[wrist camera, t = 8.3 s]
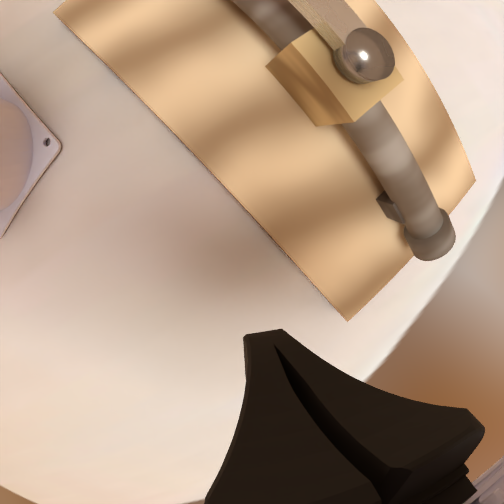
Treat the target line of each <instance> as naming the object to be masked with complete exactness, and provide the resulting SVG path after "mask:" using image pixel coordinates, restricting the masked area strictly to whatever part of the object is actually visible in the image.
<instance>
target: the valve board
mask: <svg viewBox="0 0 504 504" xmlns="http://www.w3.org/2000/svg"><path fill="white" fill-rule="evenodd" d="M344 1H345V2H346V3H347V4H348V5H349V6H350V7H351V9H352V10H353V11H354V12H355V13H356V14H357V15H358V17H359V18H360V19H361V20H362V21H363V23H364V24H365V25H366V26H367V28H370V29H373V30H375V31H377V32H378V33H380V34H381V35H382V36H383V37H384V38H385V39H386V40H387V41H388V43H389V44H390V46H391V48H392V50H393V53H394V57H395V66H394V70H393V72H392V73H391V75H390V76H389V77H387V78H385V79H382V80H378V81H374V82H370V83H367V84H358V83H355V82H352V81H350V80H349V79H347V78H346V77H345V76H344V75H342V73H341V72H340V71H339V70H338V68H337V66H336V64H335V62H334V58H333V49H332V48H331V46H330V45H329V44H328V43H327V42H326V41H325V39H324V38H323V37H322V36H321V35H320V34H319V33H318V31H317V30H316V29H315V28H314V27H313V26H312V25H311V24H310V23H309V22H308V20H307V19H306V18H305V17H304V16H303V15H302V14H301V13H300V12H299V11H298V10H297V9H296V8H295V7H294V6H293V5H292V4H291V3H290V2H289V1H288V0H66V1H65V2H64V3H63V4H62V5H60V6H59V7H58V8H57V9H56V10H55V11H54V12H53V13H54V14H55V15H56V16H57V17H58V18H59V19H60V20H61V21H62V22H63V23H64V24H65V25H66V26H67V27H68V28H69V29H70V30H71V31H72V32H73V33H74V34H75V35H76V36H77V37H79V38H80V39H81V40H82V41H83V42H84V43H85V44H86V45H87V46H88V47H89V48H90V49H91V50H92V51H93V52H94V53H95V54H96V55H97V56H98V57H99V58H100V59H101V60H102V61H103V62H104V63H105V64H106V65H107V66H108V67H109V68H110V69H111V70H112V71H113V72H114V73H115V74H116V75H117V76H118V77H119V78H120V79H121V80H122V81H123V82H124V83H125V84H126V85H127V86H128V87H129V88H130V89H131V90H132V91H133V92H134V93H135V94H136V95H137V96H138V97H139V98H140V99H141V100H142V101H143V102H144V103H145V104H146V105H147V106H148V107H149V108H150V109H151V110H152V111H153V112H154V113H155V114H156V115H157V116H158V117H159V118H160V119H161V120H162V121H163V122H164V123H165V124H166V125H167V126H168V128H169V129H170V130H171V131H172V132H173V133H174V134H175V135H176V136H177V137H178V138H179V139H180V140H181V141H182V142H183V143H184V144H185V145H186V146H187V147H188V148H189V149H190V150H191V151H192V152H193V154H194V155H195V156H196V157H197V158H198V159H199V160H200V161H201V162H202V163H203V164H204V165H205V166H206V167H207V168H208V169H209V170H210V171H211V173H212V174H213V175H214V176H215V177H216V178H217V179H218V180H219V181H220V182H221V183H222V184H223V185H224V186H225V187H226V188H227V190H228V191H229V192H230V193H231V194H232V195H233V196H234V197H235V198H236V199H237V200H238V201H239V202H240V204H241V205H242V206H243V207H244V208H245V209H246V210H247V211H248V212H249V213H250V214H251V215H252V216H253V218H254V219H255V220H256V221H257V222H258V223H259V224H260V225H261V226H262V227H263V228H264V230H265V231H266V232H267V233H268V234H269V235H270V236H271V237H272V238H273V239H274V241H275V242H276V243H277V244H278V245H279V246H280V247H281V248H282V249H283V250H284V252H285V253H286V254H287V255H288V256H289V257H290V258H291V259H292V260H293V261H294V263H295V264H296V265H297V266H298V267H299V268H300V269H301V270H302V272H303V273H304V274H305V275H306V276H307V277H308V278H309V279H310V280H311V282H312V283H313V284H314V285H315V286H316V287H317V288H318V289H319V291H320V292H321V293H322V294H323V295H324V296H325V297H326V299H327V300H328V301H329V302H330V303H331V304H332V305H333V306H334V308H335V309H336V310H337V311H338V312H339V313H340V314H341V315H342V316H343V318H344V319H345V320H346V321H347V322H348V321H349V320H350V319H351V318H352V317H353V316H354V315H355V314H357V313H358V312H359V311H360V310H361V309H362V308H363V307H364V306H365V305H366V304H367V303H368V302H369V301H370V300H371V299H372V298H373V297H374V296H375V295H376V294H377V293H378V292H379V291H380V290H381V289H382V288H383V287H384V286H385V285H386V284H387V283H388V282H389V281H390V280H391V279H392V278H393V277H394V276H395V275H396V274H397V273H398V272H399V271H400V270H401V269H402V268H403V267H404V266H405V264H406V263H407V262H408V261H409V260H410V259H411V258H412V257H413V256H415V257H416V258H418V259H420V260H423V261H432V260H436V259H438V258H440V257H442V256H444V255H445V254H447V253H448V252H449V251H450V250H451V248H452V247H453V245H454V243H455V238H456V235H455V231H454V229H453V226H452V224H451V221H450V218H449V214H450V213H451V212H452V211H453V209H454V208H455V207H456V206H457V205H458V203H459V202H460V201H461V199H462V198H463V197H464V196H465V194H466V193H467V192H468V190H469V189H470V188H471V187H472V185H473V184H474V183H475V181H476V179H475V176H474V174H473V171H472V168H471V166H470V163H469V160H468V158H467V155H466V153H465V150H464V148H463V146H462V143H461V141H460V139H459V136H458V134H457V132H456V130H455V128H454V125H453V123H452V121H451V119H450V117H449V115H448V113H447V111H446V109H445V107H444V105H443V103H442V101H441V99H440V97H439V96H438V94H437V92H436V90H435V88H434V86H433V85H432V83H431V81H430V79H429V78H428V76H427V74H426V73H425V71H424V69H423V68H422V66H421V64H420V63H419V61H418V60H417V58H416V56H415V55H414V53H413V52H412V50H411V49H410V47H409V46H408V44H407V43H406V41H405V40H404V39H403V37H402V36H401V34H400V33H399V31H398V30H397V29H396V27H395V26H394V25H393V23H392V22H391V21H390V19H389V18H388V17H387V15H386V14H385V13H384V12H383V10H382V9H381V8H380V7H379V5H378V4H377V3H376V2H375V1H374V0H344Z"/></svg>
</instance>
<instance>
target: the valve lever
mask: <svg viewBox="0 0 504 504" xmlns="http://www.w3.org/2000/svg"><path fill="white" fill-rule="evenodd" d="M288 1H289V2H290V3H291V4H292V5H293V6H294V7H295V8H296V9H297V10H298V11H299V12H300V13H301V14H302V15H303V16H304V17H305V18H306V19H307V20H308V22H309V23H310V24H311V25H312V26H313V27H314V28H315V29H316V30H317V31H318V33H319V34H320V35H321V36H322V37H323V38H324V39H325V41H326V42H327V43H328V44H329V45H330V46H331V48H332V49H333V58H334V62H335V64H336V66H337V68H338V70H339V71H340V72H341V73H342V75H344V76H345V77H346V78H347V79H349V80H350V81H352V82H355V83H358V84H367V83H370V82H374V81H378V80H382V79H385V78H387V77H389V76H390V75H391V73H392V72H393V70H394V66H395V57H394V53H393V50H392V48H391V46H390V44H389V43H388V41H387V40H386V39H385V38H384V37H383V36H382V35H381V34H380V33H378V32H377V31H375V30H373V29H370V28H367V26H366V25H365V24H364V23H363V21H362V20H361V19H360V18H359V17H358V15H357V14H356V13H355V12H354V11H353V10H352V9H351V7H350V6H349V5H348V4H347V3H346V2H345V1H344V0H288Z"/></svg>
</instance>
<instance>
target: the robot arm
mask: <svg viewBox="0 0 504 504" xmlns="http://www.w3.org/2000/svg"><path fill="white" fill-rule="evenodd" d="M48 138H50V140H51V142H50V145H49V146H47V145H46V140H47V139H48ZM60 150H61V143H60V142H59V140H58V139H57V138H56V137H55V136H54V135H53V134H52V133H51V131H50V130H49V129H48V128H47V127H46V126H45V125H44V124H43V122H42V121H41V120H40V119H39V118H38V117H37V116H36V115H35V113H34V112H33V111H32V110H31V109H30V108H29V106H28V105H27V104H26V103H25V102H24V101H23V99H22V98H21V97H20V96H19V95H18V94H17V92H16V91H15V90H14V89H13V88H12V86H11V85H10V84H9V83H8V81H7V80H6V79H5V78H4V77H3V75H2V74H1V73H0V239H1V238H2V236H3V234H4V233H5V231H6V229H7V228H8V226H9V224H10V222H11V221H12V219H13V218H14V216H15V214H16V213H17V211H18V209H19V208H20V206H21V205H22V203H23V202H24V200H25V199H26V197H27V196H28V194H29V193H30V191H31V190H32V188H33V187H34V185H35V184H36V183H37V181H38V180H39V178H40V177H41V176H42V174H43V173H44V172H45V170H46V169H47V168H48V166H49V165H50V164H51V162H52V161H53V160H54V158H55V157H56V156H57V155H58V153H59V152H60ZM243 342H244V358H245V374H246V386H245V393H244V399H243V404H242V408H241V412H240V416H239V420H238V423H237V427H236V430H235V433H234V436H233V439H232V442H231V445H230V447H229V450H228V452H227V454H226V457H225V459H224V462H223V464H222V466H221V469H220V471H219V473H218V475H217V477H216V478H215V480H214V482H213V484H212V486H211V488H210V490H209V492H208V493H207V495H206V497H205V503H204V504H504V456H503V457H502V458H501V459H500V460H499V461H497V462H496V463H495V464H494V465H493V466H492V467H491V468H490V469H488V470H487V471H486V472H484V473H483V474H482V475H481V476H480V477H478V478H477V479H476V480H475V481H473V482H472V483H471V482H470V480H469V479H468V478H467V477H466V474H467V473H468V472H469V469H468V468H467V467H466V465H465V464H464V463H465V461H466V460H467V459H468V458H469V456H470V455H471V454H472V452H473V451H474V450H475V449H476V447H477V446H478V444H479V443H480V441H481V440H482V438H483V436H484V433H485V427H484V426H483V425H482V424H481V423H480V422H479V421H478V420H477V419H476V418H475V417H474V416H473V415H472V414H471V413H470V412H469V410H467V409H465V408H455V407H447V406H438V405H433V404H427V403H423V402H419V401H414V400H410V399H407V398H403V397H400V396H397V395H394V394H391V393H388V392H385V391H383V390H380V389H377V388H375V387H373V386H370V385H368V384H366V383H364V382H362V381H360V380H357V379H355V378H353V377H351V376H350V375H348V374H346V373H344V372H342V371H341V370H339V369H337V368H336V367H334V366H332V365H331V364H329V363H328V362H326V361H324V360H323V359H321V358H320V357H319V356H317V355H316V354H314V353H313V352H311V351H310V350H309V349H307V348H306V347H305V346H303V345H302V344H301V343H299V342H298V341H297V340H296V339H294V338H293V337H292V336H290V335H289V334H288V333H287V332H285V331H284V330H283V329H278V330H271V331H265V332H259V333H252V334H246V335H245V336H244V337H243Z"/></svg>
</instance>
